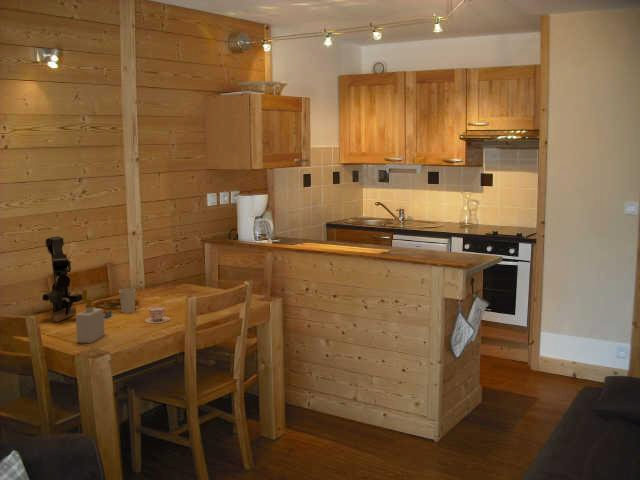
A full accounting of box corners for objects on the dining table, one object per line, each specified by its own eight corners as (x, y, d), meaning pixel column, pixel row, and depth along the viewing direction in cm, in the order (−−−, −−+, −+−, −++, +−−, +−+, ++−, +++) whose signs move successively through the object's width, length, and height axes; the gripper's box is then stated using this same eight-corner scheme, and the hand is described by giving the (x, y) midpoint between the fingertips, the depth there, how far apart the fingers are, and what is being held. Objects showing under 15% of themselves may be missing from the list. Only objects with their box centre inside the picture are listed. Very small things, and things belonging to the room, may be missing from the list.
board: (75, 325, 331) (75, 323, 331) (95, 315, 349) (95, 313, 349) (98, 326, 329) (97, 324, 328) (117, 316, 346) (117, 314, 346)
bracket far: (91, 317, 341) (90, 311, 341) (95, 315, 345) (95, 309, 345) (107, 318, 339) (106, 312, 339) (111, 316, 343) (111, 310, 343)
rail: (51, 321, 332) (50, 314, 332) (69, 313, 347) (69, 306, 346) (57, 321, 332) (57, 314, 331) (76, 313, 346) (75, 307, 345)
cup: (132, 315, 348) (130, 292, 346) (117, 315, 349) (116, 291, 347) (139, 311, 355) (138, 288, 353) (124, 311, 357) (123, 288, 355)
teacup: (139, 322, 336) (139, 310, 335) (154, 316, 347) (153, 304, 346) (160, 325, 331) (160, 312, 330) (174, 318, 342) (174, 306, 342)
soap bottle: (90, 343, 302) (87, 290, 298) (76, 342, 303) (73, 290, 300) (105, 335, 314) (102, 284, 310) (91, 334, 315) (88, 284, 312)
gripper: (34, 285, 331) (36, 317, 333) (69, 287, 327) (71, 320, 329) (48, 280, 342) (50, 311, 344) (82, 282, 337) (84, 314, 340)
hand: (63, 314), depth 339 cm, fingers closed on rail, 3 cm apart
